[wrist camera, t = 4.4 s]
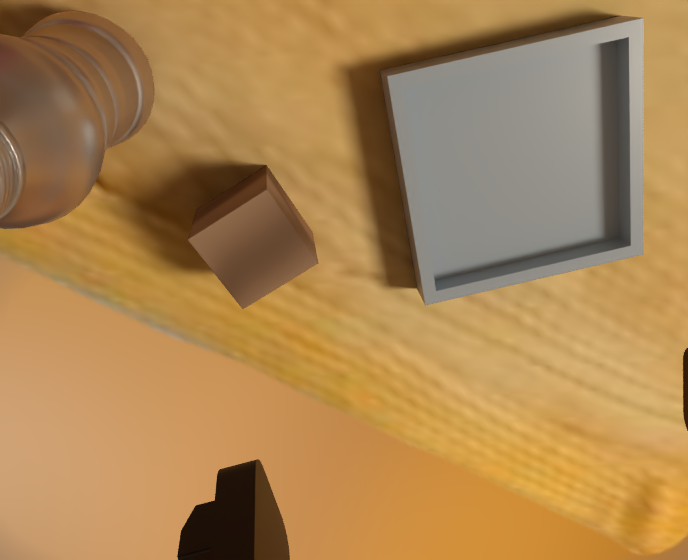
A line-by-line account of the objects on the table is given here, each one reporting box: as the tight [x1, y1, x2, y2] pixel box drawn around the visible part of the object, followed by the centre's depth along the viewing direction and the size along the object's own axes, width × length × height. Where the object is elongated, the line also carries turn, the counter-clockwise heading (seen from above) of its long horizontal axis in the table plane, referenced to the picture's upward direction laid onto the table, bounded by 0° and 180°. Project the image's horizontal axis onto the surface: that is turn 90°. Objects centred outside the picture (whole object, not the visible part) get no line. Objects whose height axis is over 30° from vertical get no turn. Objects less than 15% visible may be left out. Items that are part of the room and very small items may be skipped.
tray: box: [380, 16, 643, 305], centre depth 39 cm, size 14×14×2 cm
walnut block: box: [188, 165, 318, 309], centre depth 37 cm, size 5×5×5 cm
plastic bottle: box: [0, 11, 154, 229], centre depth 26 cm, size 6×7×20 cm
